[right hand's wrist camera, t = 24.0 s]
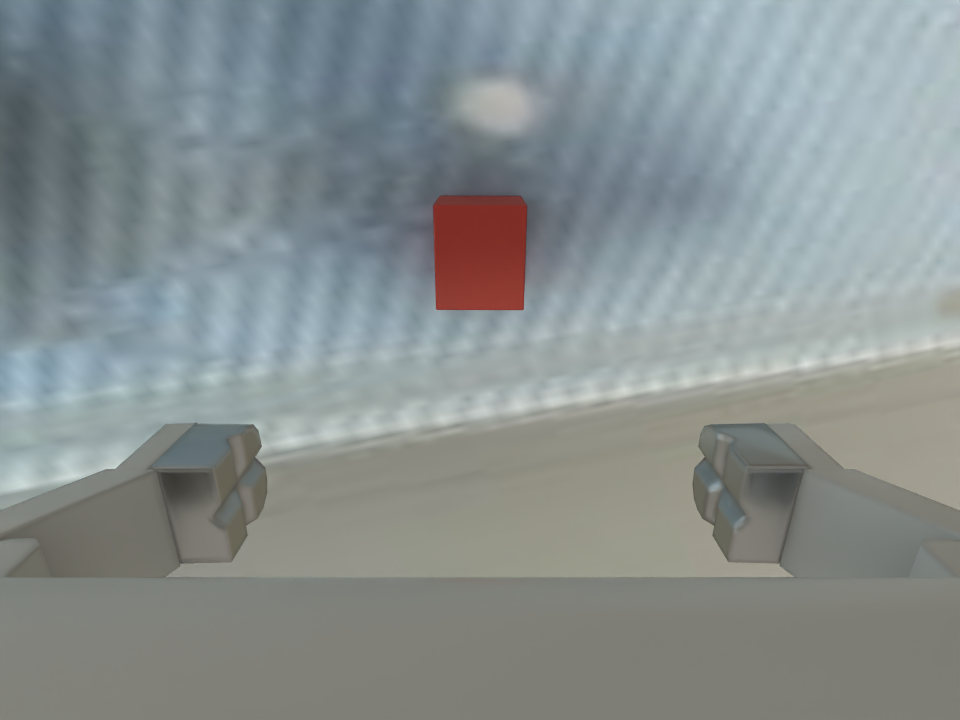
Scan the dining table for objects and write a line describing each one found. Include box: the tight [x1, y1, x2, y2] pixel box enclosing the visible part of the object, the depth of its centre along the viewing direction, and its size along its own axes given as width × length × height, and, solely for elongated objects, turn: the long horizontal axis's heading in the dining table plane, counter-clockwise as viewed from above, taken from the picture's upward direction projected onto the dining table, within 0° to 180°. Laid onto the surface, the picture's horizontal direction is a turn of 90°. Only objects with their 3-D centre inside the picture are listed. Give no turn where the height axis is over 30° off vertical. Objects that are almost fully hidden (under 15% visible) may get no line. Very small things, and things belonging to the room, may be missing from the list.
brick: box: [433, 196, 527, 310], centre depth 29 cm, size 5×4×4 cm
